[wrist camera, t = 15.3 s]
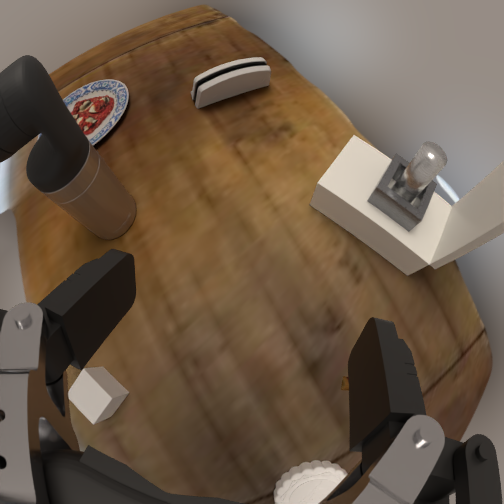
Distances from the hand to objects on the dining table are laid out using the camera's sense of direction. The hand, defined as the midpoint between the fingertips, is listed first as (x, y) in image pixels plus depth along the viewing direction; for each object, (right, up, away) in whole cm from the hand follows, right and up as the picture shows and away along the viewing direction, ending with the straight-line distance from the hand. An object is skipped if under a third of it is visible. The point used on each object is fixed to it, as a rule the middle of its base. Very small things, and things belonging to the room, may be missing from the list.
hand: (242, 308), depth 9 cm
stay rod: (+22, +10, +29) cm, 38 cm away
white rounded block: (-4, +35, +45) cm, 57 cm away
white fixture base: (+21, +8, +36) cm, 43 cm away
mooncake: (+10, -35, +23) cm, 43 cm away
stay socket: (+22, +10, +29) cm, 38 cm away
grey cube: (-23, -20, +28) cm, 42 cm away
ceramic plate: (-40, +32, +45) cm, 68 cm away
